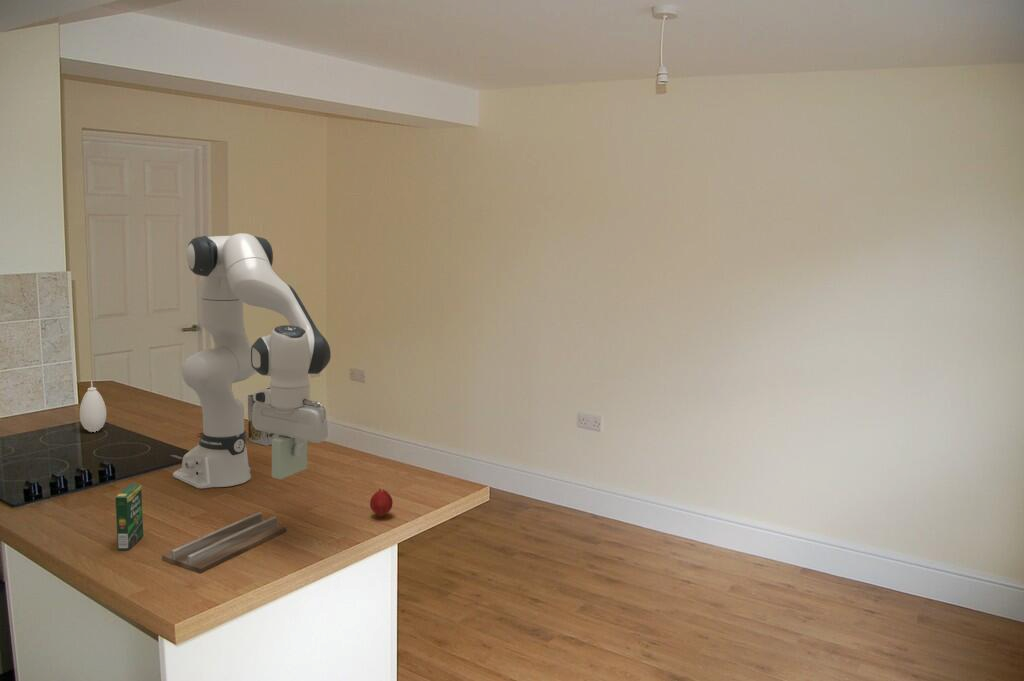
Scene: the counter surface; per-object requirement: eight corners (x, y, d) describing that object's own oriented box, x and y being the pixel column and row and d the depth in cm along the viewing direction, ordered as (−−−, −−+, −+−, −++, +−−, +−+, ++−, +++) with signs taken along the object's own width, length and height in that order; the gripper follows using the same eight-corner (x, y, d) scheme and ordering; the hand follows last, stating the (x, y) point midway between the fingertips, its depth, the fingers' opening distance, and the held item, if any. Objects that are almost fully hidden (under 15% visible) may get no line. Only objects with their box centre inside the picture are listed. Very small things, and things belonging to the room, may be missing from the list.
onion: (371, 512, 201) (371, 483, 199) (393, 512, 201) (393, 483, 200) (368, 520, 195) (369, 491, 194) (391, 521, 196) (391, 491, 194)
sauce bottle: (98, 435, 255) (96, 383, 252) (75, 434, 255) (73, 382, 252) (111, 429, 262) (109, 378, 259) (89, 428, 262) (86, 377, 259)
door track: (162, 560, 169) (161, 547, 168) (249, 520, 192) (249, 509, 191) (200, 573, 163) (200, 560, 163) (286, 531, 186) (286, 519, 186)
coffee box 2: (129, 551, 172) (127, 496, 170) (116, 551, 172) (114, 496, 170) (144, 536, 180) (142, 483, 178) (132, 536, 180) (130, 483, 178)
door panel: (271, 477, 175) (271, 439, 173) (298, 466, 183) (299, 430, 181) (280, 479, 173) (280, 441, 172) (306, 468, 181) (307, 432, 180)
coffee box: (281, 442, 257) (280, 395, 254) (265, 446, 251) (265, 399, 249) (263, 437, 261) (262, 391, 259) (247, 441, 256) (247, 394, 253)
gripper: (334, 400, 173) (333, 458, 176) (267, 387, 182) (267, 443, 184) (315, 406, 168) (315, 465, 170) (247, 392, 177) (247, 449, 179)
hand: (289, 453), depth 177 cm, fingers closed on door panel, 2 cm apart
